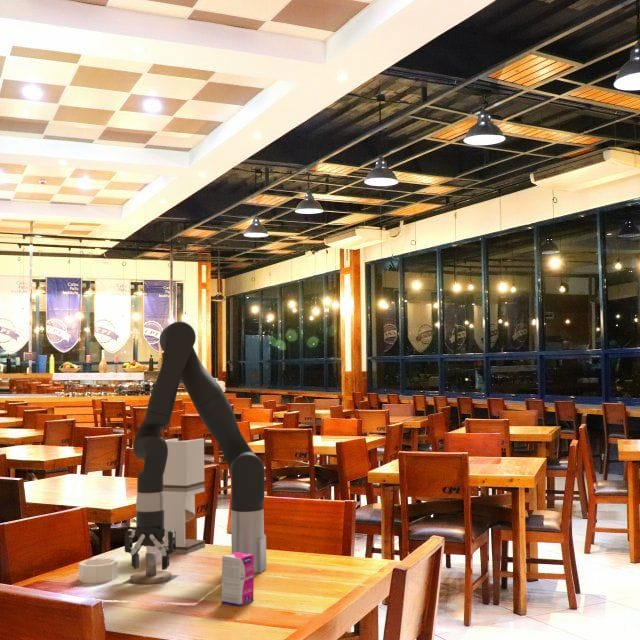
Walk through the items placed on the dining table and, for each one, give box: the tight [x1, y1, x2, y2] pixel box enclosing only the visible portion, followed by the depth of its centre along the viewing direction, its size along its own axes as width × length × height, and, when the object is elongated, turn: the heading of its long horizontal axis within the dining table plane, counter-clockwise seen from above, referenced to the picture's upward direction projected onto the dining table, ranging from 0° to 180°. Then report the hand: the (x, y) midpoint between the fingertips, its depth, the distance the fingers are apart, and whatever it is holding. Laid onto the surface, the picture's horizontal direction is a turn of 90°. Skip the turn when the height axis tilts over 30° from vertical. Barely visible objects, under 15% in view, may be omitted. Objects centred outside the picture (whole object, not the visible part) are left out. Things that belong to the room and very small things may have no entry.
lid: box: [129, 551, 173, 585], centre depth 225 cm, size 11×11×7 cm
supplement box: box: [221, 552, 255, 607], centre depth 203 cm, size 6×6×12 cm
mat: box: [122, 574, 179, 586], centre depth 225 cm, size 12×10×1 cm
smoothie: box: [145, 537, 164, 565], centre depth 246 cm, size 6×6×14 cm
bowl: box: [78, 557, 119, 584], centre depth 227 cm, size 10×10×5 cm
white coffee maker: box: [163, 437, 206, 555], centre depth 268 cm, size 11×11×35 cm
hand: (150, 568), depth 225 cm, fingers open, 8 cm apart
